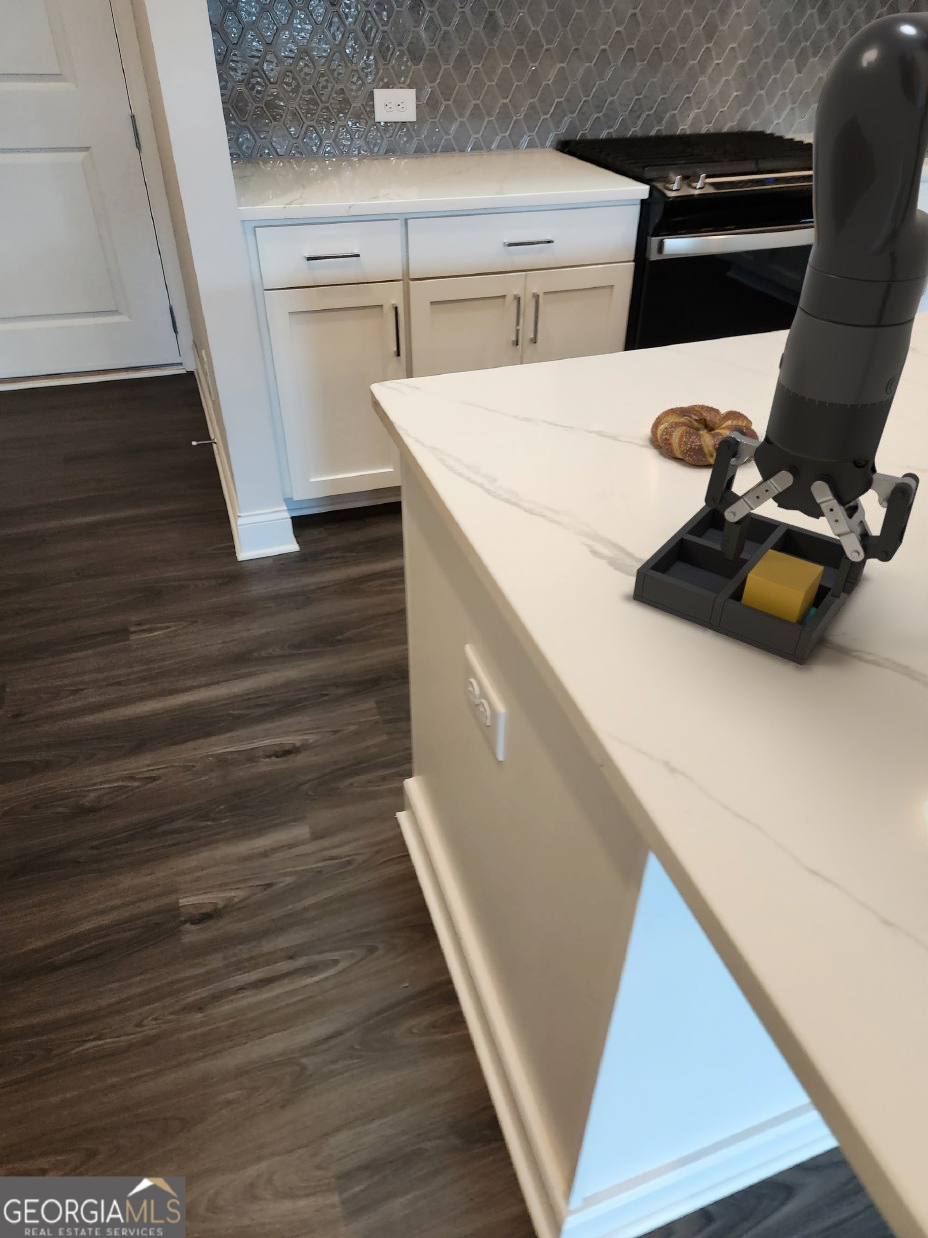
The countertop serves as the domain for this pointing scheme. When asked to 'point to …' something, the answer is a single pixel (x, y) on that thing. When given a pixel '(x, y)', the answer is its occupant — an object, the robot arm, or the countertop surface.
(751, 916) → the countertop surface
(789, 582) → the block
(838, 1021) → the countertop surface
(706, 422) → the pretzel
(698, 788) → the countertop surface
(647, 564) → the tray
